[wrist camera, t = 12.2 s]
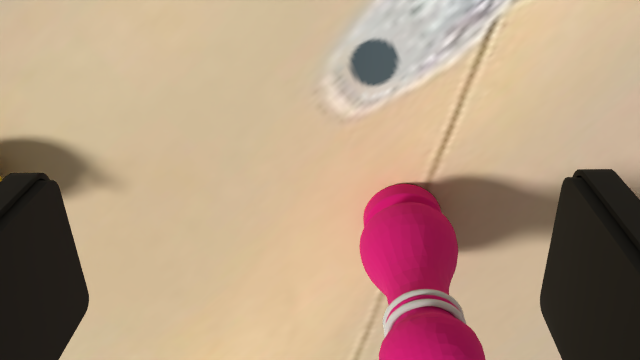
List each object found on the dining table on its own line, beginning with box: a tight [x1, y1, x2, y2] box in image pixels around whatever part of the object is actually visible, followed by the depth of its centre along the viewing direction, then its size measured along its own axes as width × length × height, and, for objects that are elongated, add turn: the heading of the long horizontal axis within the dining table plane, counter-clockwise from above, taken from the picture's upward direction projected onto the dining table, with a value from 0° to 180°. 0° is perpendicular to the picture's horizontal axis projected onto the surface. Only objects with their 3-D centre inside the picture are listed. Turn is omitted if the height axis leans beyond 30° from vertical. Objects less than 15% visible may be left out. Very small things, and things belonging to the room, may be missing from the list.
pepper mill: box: [360, 184, 485, 360], centre depth 38 cm, size 7×7×20 cm
